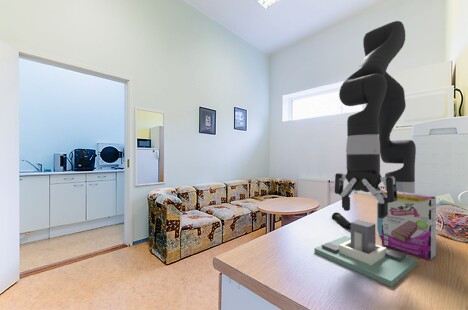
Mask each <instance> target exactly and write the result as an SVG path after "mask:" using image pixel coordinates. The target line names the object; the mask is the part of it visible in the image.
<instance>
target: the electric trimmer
mask: <svg viewBox="0 0 468 310" xmlns="http://www.w3.org/2000/svg"><path fill="white" fill-rule="evenodd" d="M331 218H332V219H335V220H336V221H337V222H338V224H339V225H340V226H342V227H343V228H346V229H351V222H350V221H349V220H348V219H347V218H346V217H345V216H343V215H342V214H341V213H340V212H334V213H332V215H331Z"/></svg>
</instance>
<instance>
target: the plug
mask: <svg viewBox="0 0 468 310" xmlns="http://www.w3.org/2000/svg"><path fill="white" fill-rule="evenodd" d="M350 223H351V228H350V238H351V248H353V249H356V250H359V251H362V252H364V253H367V254H369V253H371V252H373V251H375V250H376V245H377V244H376V240H377V239H376V223H372V222H369V221H365V220H360V219H357V220H356V219H355V221H352V222H350Z"/></svg>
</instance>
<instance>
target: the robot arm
mask: <svg viewBox="0 0 468 310" xmlns="http://www.w3.org/2000/svg"><path fill="white" fill-rule="evenodd" d="M362 41H363V51H364V56H365V57H364V58H363V60H362V61H361V62H360V64H359V66H358V68H357V70H355V71H354V72H353V73H352V74H351V75H350V76H348V77H347V78H346V79H345V80H344V81H343V82H342V84H341V86H340V89H339V93H338V95H339V96H338V97H339V100H340V102H341V103H342V104H343V105H344V106H347V107H354V106H361V105H365V104H366V105H365V108H364V109H363V110H361V111H358V112H356V113H353V114H350V115H349V116H348V117H347V121H346V124H347V127H346V129H347V138H346V147H345V148H346V149H345V152H346V153H345V155H346V173H343V172H338V173H335V175H334V177H335V178H334V179H335V180H334V193H335V194H336V195H339V196H341V207H342V209H343V211H345V212H348V211H350V210H351V197H350V195H351V194H352V193H353V192H355V191H357V192H360V191H362V192H363V193H365V192H366V193H371V195H372V196H373V197H375V199H376V200H377V201H378V202H380V203H378V202H377V203H378V218H381V219H383V218H385V216H387V215H388V203H389V202H394V201H397V191H398V192H406V193H414V194H416V191H415V190H416V188H415V187H416V179H415V178H416V176H415V175H416V167H415V166H416V156H417V154H416V153H417V151H416V150H417V147H416V144H415V141H413V139H412V140H411V139H401V140H399V139H397V140H391V137H390V136H391V133H392V130H393V129H394V127H395V125H397V122H398V121H399V119H401V117H402V116H403V114H404V112H405V109H406V96H405V89H404V87H403V86H402V85H401V84H400V82H398V81H397V80H396V79H395V78H393V76H391V75H390V74H389V73H388V71H387V70H388V66H389V65H390V63H391V62H392V61H393V60H394V59H395V57H396V56H397V55H398V54H399V52H400V51H401V50H402V49H403V47H404V45H405V43H406V42H405V41H406V30H405V26H404V23H403V22H402V21H400V20H394V21H392V22H389V23H386V24H383V25H382V26H378V27H375V28H374V29H371V30H369V31H367V32H366V33H365V34H364V35H363V40H362ZM381 161H382V162H383V163H385V164H399V165H401V164H403V165H402V167H400V168H398V169H396V170H393V171H390V172H385V174H384V176H382V175H381ZM346 180H347V183H348V184H346V186H345V187H344V181H346ZM381 183H383V185H384V190H383V189H382V188H381V187H380V186H379V185H380V184H381ZM383 191H387V197H386V196H385V194H384V193H383Z"/></svg>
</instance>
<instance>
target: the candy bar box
mask: <svg viewBox="0 0 468 310" xmlns="http://www.w3.org/2000/svg"><path fill="white" fill-rule="evenodd" d="M382 191H383V193H384V194H385V196H386V197H387V191H385V190H382ZM436 245H437V196H435V195H430V194H429V195H427V194H422V193H421V194H419V193H415V194H414V193H406V192H398V191H397V201H394V202H389V203H388V215H387V216H385V218H383V219H382V236H381V246H382V247H386V248H390V249H391V250H395V251H398V252H401V253H404V254H409V255H412V256H414V257H418V258H421V259H424V260H428V261H432V260H433V259H434V258H435V257H436V255H437V246H436Z"/></svg>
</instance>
